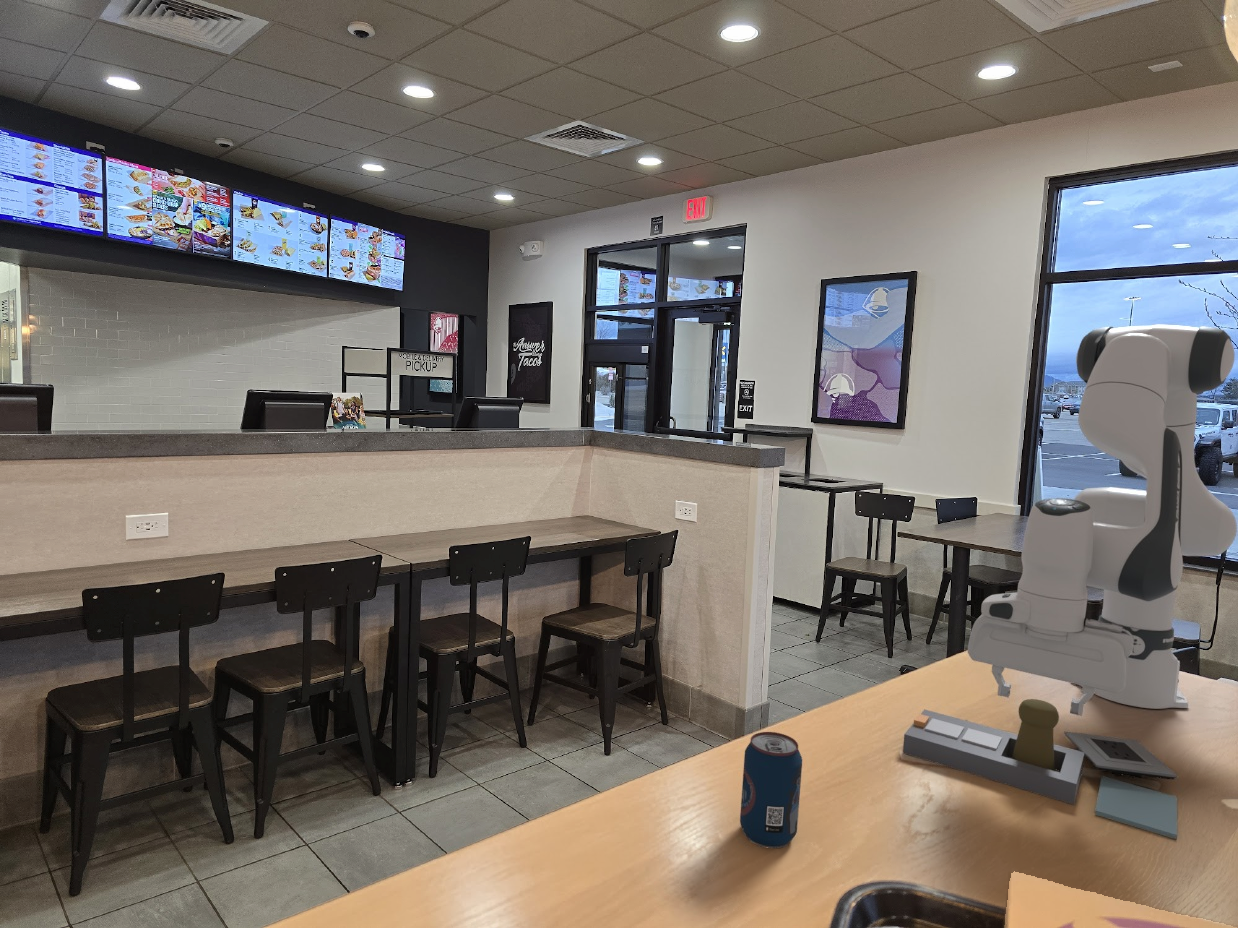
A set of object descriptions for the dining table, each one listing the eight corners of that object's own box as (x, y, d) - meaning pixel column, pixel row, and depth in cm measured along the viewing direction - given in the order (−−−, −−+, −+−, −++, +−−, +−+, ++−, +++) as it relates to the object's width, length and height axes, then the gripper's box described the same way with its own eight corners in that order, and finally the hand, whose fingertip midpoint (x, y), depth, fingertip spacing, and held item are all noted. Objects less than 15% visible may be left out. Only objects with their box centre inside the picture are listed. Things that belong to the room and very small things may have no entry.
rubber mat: (1101, 779, 115) (1101, 775, 115) (1176, 800, 110) (1176, 796, 110) (1094, 814, 105) (1095, 810, 105) (1176, 839, 100) (1177, 834, 100)
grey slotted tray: (922, 726, 131) (924, 704, 130) (1082, 771, 117) (1085, 747, 117) (902, 752, 121) (904, 728, 120) (1074, 804, 108) (1077, 778, 107)
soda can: (736, 817, 100) (742, 727, 99) (790, 820, 100) (797, 730, 99) (742, 849, 94) (749, 753, 92) (801, 853, 93) (808, 757, 92)
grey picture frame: (1176, 789, 112) (1177, 773, 112) (1095, 778, 114) (1096, 762, 114) (1135, 752, 125) (1136, 738, 125) (1062, 743, 127) (1064, 729, 127)
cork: (1045, 788, 112) (1053, 714, 111) (1001, 771, 116) (1009, 700, 115) (1061, 776, 116) (1069, 704, 115) (1019, 759, 120) (1026, 690, 119)
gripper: (1136, 622, 110) (1124, 718, 111) (978, 593, 121) (969, 680, 123) (1134, 632, 105) (1122, 732, 106) (970, 601, 116) (960, 691, 118)
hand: (1039, 704), depth 114 cm, fingers open, 8 cm apart
